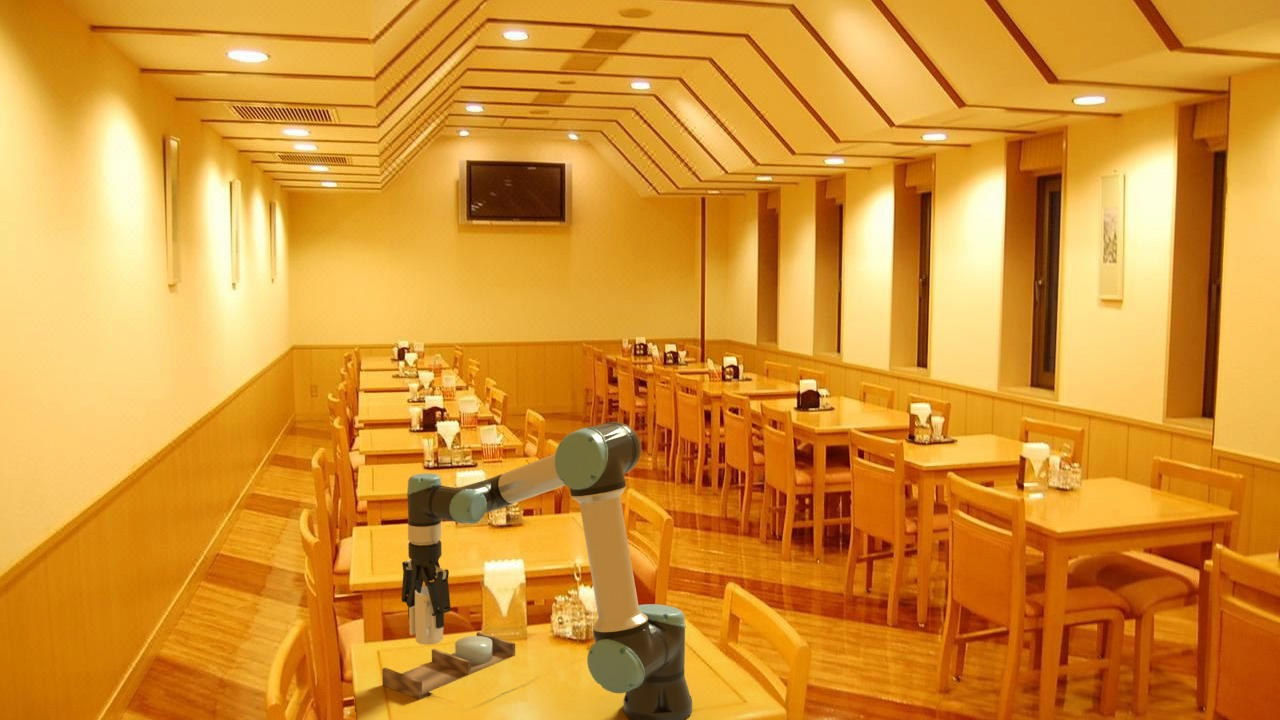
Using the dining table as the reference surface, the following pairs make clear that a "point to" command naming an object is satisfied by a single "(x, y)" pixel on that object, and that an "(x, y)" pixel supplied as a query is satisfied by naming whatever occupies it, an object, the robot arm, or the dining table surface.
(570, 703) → the dining table surface
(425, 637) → the mug
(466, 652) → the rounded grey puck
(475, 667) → the rack
